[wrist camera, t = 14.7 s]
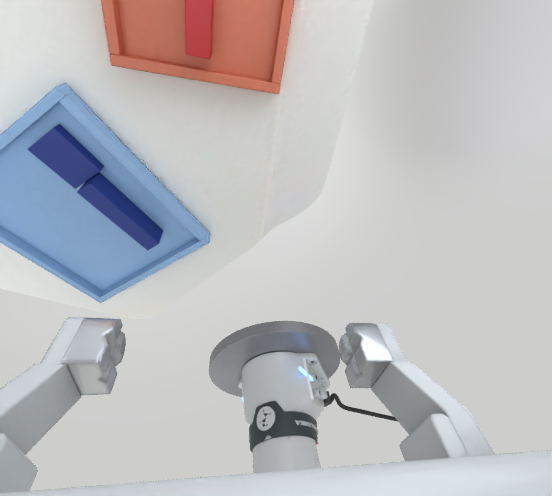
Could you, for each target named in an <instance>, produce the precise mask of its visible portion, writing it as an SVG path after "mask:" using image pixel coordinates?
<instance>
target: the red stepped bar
mask: <svg viewBox="0 0 552 496" xmlns="http://www.w3.org/2000/svg"><path fill="white" fill-rule="evenodd" d="M213 19H214V0H185V31H186V55H190V56H195V57H200V58H205V59H210V58H211V56H212V47H213Z"/></svg>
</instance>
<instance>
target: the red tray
mask: <svg viewBox="0 0 552 496" xmlns="http://www.w3.org/2000/svg"><path fill="white" fill-rule="evenodd" d="M101 2H102V9H103V15H104V22H105V28H106V35H107V41H108V48H109V53H110V61H111V65H112V66H118V67H123V68H129V69H135V70H141V71H147V72H152V73H158V74H164V75H170V76H176V77H182V78H187V79H193V80H199V81H205V82H211V83H216V84H222V85H228V86H234V87H240V88H246V89H251V90H257V91H263V92H269V93H275V94H279V90H280V83H281V78H282V72H283V66H284V60H285V54H286V47H287V41H288V35H289V29H290V23H291V17H292V11H293V4H294V0H214V19H213V47H212V56H211V58H210V59H205V58H200V57H195V56H190V55H186V31H185V0H101Z"/></svg>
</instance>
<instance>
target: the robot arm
mask: <svg viewBox="0 0 552 496" xmlns="http://www.w3.org/2000/svg"><path fill="white" fill-rule="evenodd" d="M121 328H122V322H121V320H120V319H103V318H76V317H75V318H74V317H69V318H68V319H67V320H66V321H64V323H63V325H62V327H61V328H60V330H59V332H58V333H57V335H56V337H55V338H54V340H53V342H52V344H51V345H50V347H49V349H48V350H47V352H46V354H45V356H44V357H43V359H42V361H41V363H40V364H34V365H33V366H31V367H30V368H28V369H27V370H26V371H24V372H23V373H22V374H20V375H19V376H17V377H16V378H15V379H13V380H12V381H10V382H9V383H7V384H6V385H5V386H3V387H2V388H1V389H0V496H552V450H545V451H531V452H519V453H506V454H495V453H494V452H493V450H492V448H491V447H490V445H489V444H488V442H487V440H486V438H485V437H484V435H483V433H482V432H481V430H480V428H479V427H478V425H477V423H476V421H475V420H474V418H473V417H472V415H471V413H470V411H468V410H467V409H466V408H465V407H463V406H462V405H461V404H460V403H459V402H458V401H457V400H455V399H454V398H453V397H452V396H450V394H448V393H447V392H446V391H445V390H444V389H442V388H441V387H440V386H439V385H438V384H437V383H435V382H434V381H433V380H432V379H431V378H429V377H428V376H427V375H426V374H425V373H424V372H422V371H421V370H420V369H419V368H418V367H416V366H415V365H414V364H413V363H412V362H407V360H406V358H405V356H404V354H403V352H402V350H401V348H400V346H399V344H398V342H397V341H396V338H395V337H394V335H393V333H392V331H391V329H390V327H389V326H388V325H387V324H373V323H349V324H348V325H347V327H346V332H347V333H346V334H344V335H343V336H342V337H341V339H340V342H339V352H340V356H341V360H342V361H343V362H344V363H345V364H346V365H347V367H346V370H345V373H346V376H347V379H348V382H349V385H350V388H372V389H371V390H372V391H373V392H374V393H375V395H376V396H377V397H378V398H379V399H380V400H381V402H382V403H383V404H384V405H385V406H386V408H388V410H389V411H390V412H391V413H392V415H393V416H394V417H392V416H388V415H383V414H378V413H374V412H370V411H365V410H362V409H357V408H352V407H348V406H345V405H343V404H342V403H341V402H340V400H339V398H338V396H337V395H336V394H334V393H333V394H331V396H329V392H328V391H326V389H327V388H328V387H329V386H330V381H329V379H328V377H327V375H326V373H325V371H324V369H323V367H322V365H321V363H320V361H319V359H318V357H317V355H316V354H315V353H294V352H272V353H267V354H263V355H260V356H258V357H255V358H253V359H252V360H250V361H249V362H247V363H246V364H245V365H244V367H243V369H242V377H241V378H240V379H239V381H238V388H240V389H242V394H243V404H244V414H245V420H246V422H248V423H249V424H250V427H249V443H250V450H251V452H252V453H253V473H251V474H238V475H225V476H214V477H200V478H187V479H175V480H162V481H150V482H136V483H123V484H111V485H98V486H85V487H72V488H60V489H48V490H35V491H30V488H31V486H32V484H33V481H34V479H35V477H36V474H37V472H38V470H37V468H36V466H35V465H34V464H33V463H32V462H31V461H30V460H29V459H28V458H27V457H26V456H25V455H26V454H27V452H28V451H29V450H30V449H31V448H32V447H33V446H34V445H35V444H36V443H37V442H38V441H39V440H40V439H41V438H42V437H43V436H44V435H45V434H46V433H47V432H48V431H49V430H50V429H51V428H52V426H54V425H55V424H56V423H57V422H58V420H59V419H61V417H62V416H63V415H64V414H65V413H66V412H67V411H68V410H69V409H70V408H71V407H72V406H73V405H74V404H75V403H76V402H77V401H78V400H79V399H80V398H81V395H97V394H110V393H111V390H112V388H113V385H114V381H115V379H116V376H117V372H116V368H115V366H117V365H118V364H119V363H120V362H121V361H122V358H123V355H124V351H125V345H126V344H125V334H124V333H123V332H121ZM334 398H335V400H336V402H337V404H338V405H339V406H340V407H341V408H343V409H345V410H348V411H352V412H357V413H361V414H366V415H371V416H375V417H379V418H384V419H389V420H394V421H398V422H399V423H400V424H401V425H402V426H403V428H404V429H405V430H406V431H407V432H408V434H409V436H408V437H407V438H406V439H404V440H403V441H402V442H401V444H400V449H401V451H402V454H403V457H404V459H405V461H404V462H391V463H378V464H366V465H353V466H340V467H328V468H321V467H320V463H319V458H318V453H317V448H316V444H318V442H317V435H318V431H317V422H316V419H317V418H318V416H319V415H320V413H321V412H322V411H323V409H324V407H325V406H328V405H329V404H331V403H332V402H333V400H334Z"/></svg>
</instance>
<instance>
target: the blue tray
mask: <svg viewBox="0 0 552 496" xmlns="http://www.w3.org/2000/svg"><path fill="white" fill-rule="evenodd" d="M58 124H61V125H62V126H63V127H64V128H65V129H66V130H67V131H68V132H69V133H70V134H71V135H72V136H73V137H74V138H75V139H76V140H78V141H79V142H80V143H81V144H82V145H83V146H84V147H85V148H86V149H87V150H88V151H89V152H90V153H91V154H92V155H93V156H95V157H96V158H97V159H98V160H99V161H100V162H101V163H102V164H103V165H104V167H103V168H102V170H101V171H100V173H101V174H102V175H103V176H104V177H106V178H107V179H108V180H109V181H110V182H111V183H112V184H113V185H114V186H115V187H116V188H118V189H119V190H120V191H121V192H122V193H123V194H124V195H125V196H126V197H127V198H128V199H130V200H131V201H132V202H133V203H134V204H135V205H136V206H137V207H138V208H139V209H140V210H142V211H143V212H144V213H145V214H146V215H147V216H148V217H149V218H150V219H151V220H152V221H154V222H155V223H156V224H157V225H158V226H159V227H160V228H161V229H162V230H163V234H162V237H161V240H160V243H159V244H158V245H156V246H155V247H153V248H151V249H150V250H146V249H145V248H144V247H143V246H141V245H140V244H139V243H138V242H136V241H135V240H134V239H133V238H132V237H130V236H129V235H128V234H127V233H126V232H124V231H123V230H122V229H121V228H119V227H118V226H117V225H116V224H115V223H113V222H112V221H111V220H110V219H108V218H107V217H106V216H105V215H104V214H102V213H101V212H100V211H99V210H98V209H96V208H95V207H94V206H93V205H91V204H90V203H89V202H88V201H87V200H85V199H84V198H83V197H82V196H81V195H79V194H78V193H77V191H78V190H79V189H80V188H81V187H82V186H83V184H84V183H85V182H84V183H83V184H82V185H80V186H79V187H78V188H76V189H74V188H73V187H72V186H71V185H70V184H68V183H67V182H66V181H65V180H64V179H62V178H61V177H60V176H59V175H57V174H56V173H55V172H54V171H53V170H51V169H50V168H49V167H48V166H47V165H45V164H44V163H43V162H42V161H41V160H39V159H38V158H37V157H36V156H34V155H33V154H32V153H31V152H30V151H28V150H27V149H28V148H29V147H30V146H32V145H33V144H34V143H35V142H37V141H38V140H39V139H40V138H42V137H43V136H44V135H45V134H46V133H48V132H49V131H50V130H51V129H53V128H54V127H55V126H57V125H58ZM209 241H210V233H209V232H208V231H207V230H206V229H205V228H204V227H203V226H202V225H201V224H200V223H199V222H198V221H197V220H196V219H195V218H194V217H193V216H192V215H191V214H190V213H189V212H188V210H187V209H186V208H185V207H184V206H183V205H182V204H181V203H180V202H179V201H178V200H177V199H176V198H175V197H174V196H173V195H172V194H171V193H170V192H169V191H168V190H167V189H166V188H165V186H164V185H163V184H162V183H161V182H160V181H159V180H158V179H157V178H156V177H155V176H154V175H153V174H152V173H151V172H150V171H149V170H148V169H147V168H146V167H145V166H144V165H143V164H142V162H141V161H140V160H139V159H138V158H137V157H136V156H135V155H134V154H133V153H132V152H131V151H130V150H129V149H128V148H127V147H126V146H125V145H124V144H123V143H122V142H121V141H120V140H119V138H118V137H117V136H116V135H115V134H114V133H113V132H112V131H111V130H110V129H109V128H108V127H107V126H106V125H105V124H104V123H103V122H102V121H101V120H100V119H99V118H98V117H97V116H96V114H95V113H94V112H93V111H92V110H91V109H90V108H89V107H88V106H87V105H86V104H85V103H84V102H83V101H82V100H81V99H80V98H79V97H78V96H77V95H76V94H75V93H74V92H73V91H72V89H71V88H70V87H69V86H68V85H67V84H66V83H64V84H62V85H59V86H57V87H55V88H54V89H53V90H52V91H51V92H50V93H48V94H47V95H46V96H45V97H44V98H43V99H41V100H40V101H39V102H38V103H37V104H36V105H35V106H33V107H32V108H31V109H30V110H29V111H28V112H26V113H25V114H24V115H23V116H22V117H21V118H20V119H18V120H17V121H16V122H15V123H14V124H13V125H11V126H10V127H9V128H8V129H7V130H6V131H4V132H3V133H2V134H1V135H0V242H1V243H2V244H4V245H6V246H7V247H9V248H11V249H12V250H14V251H16V252H17V253H19V254H21V255H22V256H24V257H26V258H27V259H29V260H31V261H32V262H34V263H35V264H37V265H39V266H40V267H42V268H44V269H45V270H47V271H49V272H50V273H52V274H54V275H55V276H57V277H59V278H60V279H62V280H64V281H65V282H67V283H69V284H70V285H72V286H73V287H75V288H77V289H78V290H80V291H82V292H83V293H85V294H87V295H88V296H90V297H92V298H93V299H95V300H96V301H98V302H100V303H101V302H103V301H105V300H107V299H109V298H110V297H112V296H114V295H116V294H117V293H119V292H121V291H123V290H125V289H126V288H128V287H130V286H132V285H134V284H135V283H137V282H139V281H141V280H143V279H144V278H146V277H148V276H150V275H152V274H153V273H155V272H157V271H159V270H161V269H162V268H164V267H166V266H168V265H170V264H171V263H173V262H175V261H177V260H179V259H180V258H182V257H184V256H186V255H188V254H189V253H191V252H193V251H195V250H197V249H198V248H200V247H202V246H204V245H206V244H207V243H209Z"/></svg>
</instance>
